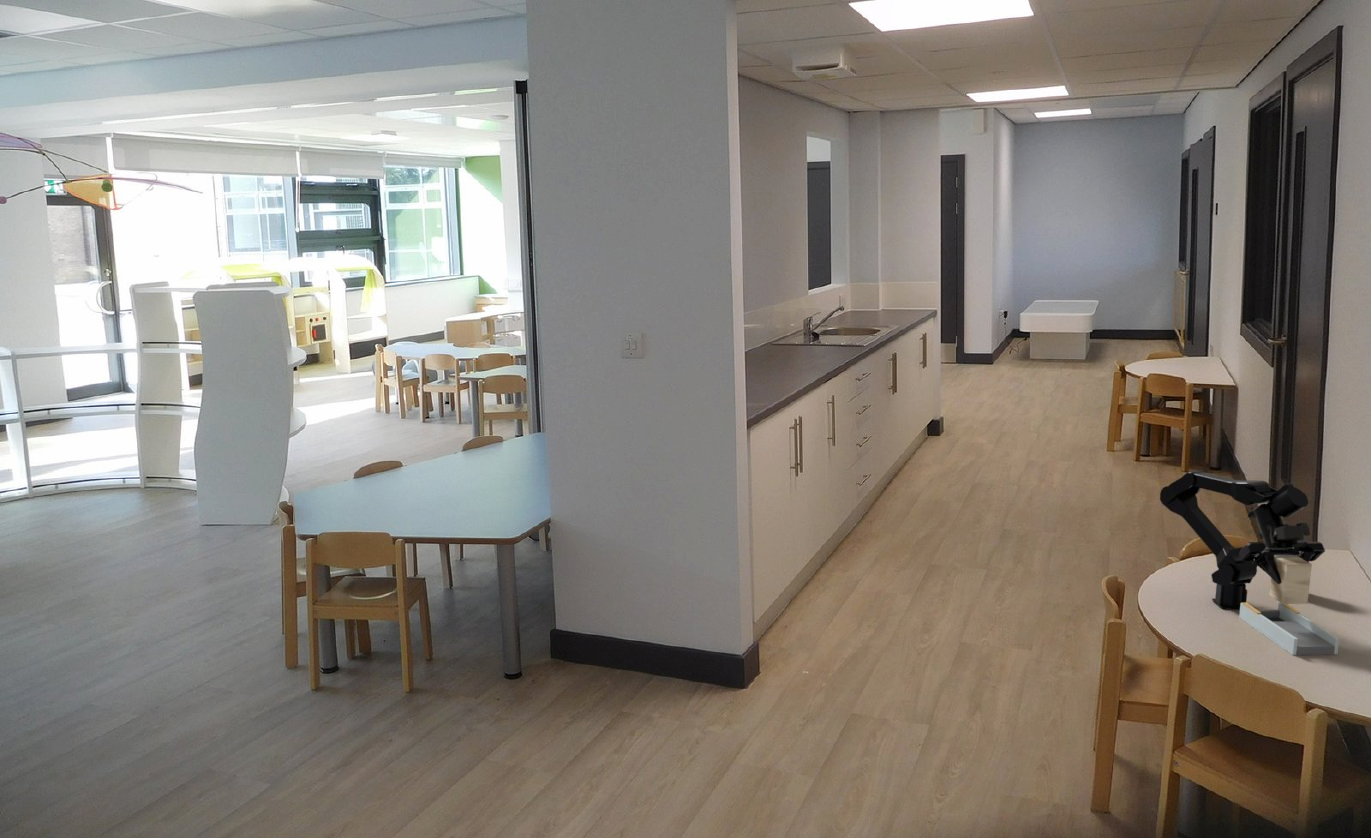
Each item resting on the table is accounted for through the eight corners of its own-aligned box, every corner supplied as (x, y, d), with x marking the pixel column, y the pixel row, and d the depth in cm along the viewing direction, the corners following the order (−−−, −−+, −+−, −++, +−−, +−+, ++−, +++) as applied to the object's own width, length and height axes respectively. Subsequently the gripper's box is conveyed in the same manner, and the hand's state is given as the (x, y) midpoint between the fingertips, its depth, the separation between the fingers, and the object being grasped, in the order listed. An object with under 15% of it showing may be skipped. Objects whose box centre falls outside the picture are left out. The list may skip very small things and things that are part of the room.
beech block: (1269, 595, 269) (1273, 556, 267) (1293, 595, 269) (1297, 556, 267) (1282, 603, 263) (1287, 564, 261) (1307, 603, 263) (1311, 564, 261)
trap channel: (1239, 617, 279) (1240, 601, 278) (1280, 617, 279) (1282, 600, 278) (1292, 655, 255) (1294, 637, 254) (1337, 654, 255) (1339, 636, 254)
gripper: (1249, 510, 266) (1270, 568, 257) (1325, 510, 266) (1347, 568, 258) (1230, 532, 275) (1249, 589, 266) (1302, 531, 276) (1324, 588, 267)
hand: (1292, 583), depth 264 cm, fingers closed on beech block, 6 cm apart
